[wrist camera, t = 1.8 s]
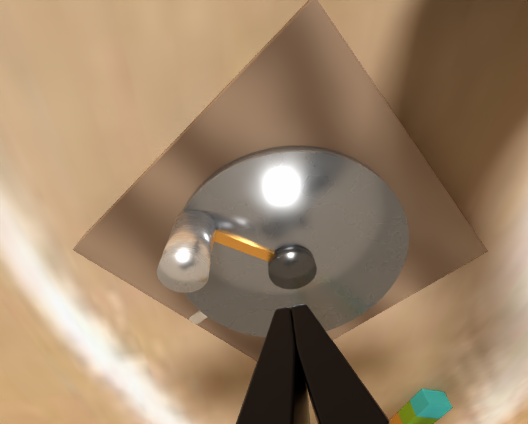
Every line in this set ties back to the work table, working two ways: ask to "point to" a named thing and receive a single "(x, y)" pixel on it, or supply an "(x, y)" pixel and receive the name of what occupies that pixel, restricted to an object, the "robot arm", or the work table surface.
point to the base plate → (283, 134)
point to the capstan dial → (287, 239)
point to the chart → (423, 408)
